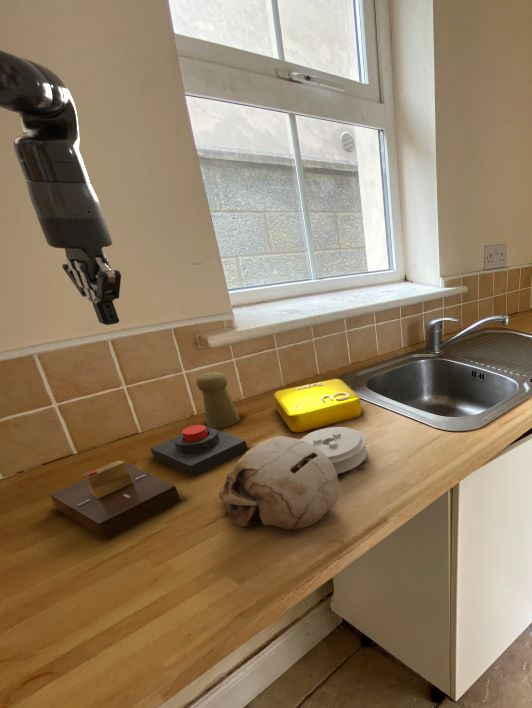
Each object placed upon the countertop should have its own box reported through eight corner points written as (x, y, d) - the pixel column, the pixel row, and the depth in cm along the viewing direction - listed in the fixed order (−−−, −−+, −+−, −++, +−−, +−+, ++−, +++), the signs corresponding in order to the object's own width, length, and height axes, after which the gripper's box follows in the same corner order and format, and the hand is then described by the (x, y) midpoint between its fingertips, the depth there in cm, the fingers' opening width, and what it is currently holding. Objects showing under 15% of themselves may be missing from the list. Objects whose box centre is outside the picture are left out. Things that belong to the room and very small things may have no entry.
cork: (199, 424, 95) (184, 377, 90) (225, 412, 100) (212, 367, 95) (221, 430, 93) (206, 382, 88) (246, 417, 98) (234, 371, 94)
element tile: (341, 393, 112) (338, 375, 110) (364, 415, 102) (362, 396, 99) (275, 408, 103) (270, 389, 101) (293, 435, 93) (288, 414, 91)
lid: (287, 457, 85) (281, 434, 83) (352, 437, 93) (349, 415, 91) (308, 489, 77) (303, 465, 75) (378, 464, 85) (376, 441, 82)
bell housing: (153, 458, 83) (146, 439, 81) (208, 434, 91) (203, 417, 90) (194, 476, 79) (187, 457, 77) (248, 449, 87) (243, 432, 85)
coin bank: (233, 488, 76) (222, 420, 70) (343, 482, 82) (341, 419, 76) (203, 558, 63) (186, 480, 57) (337, 545, 68) (334, 474, 63)
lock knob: (128, 480, 72) (118, 458, 70) (133, 483, 72) (123, 460, 70) (93, 496, 68) (82, 473, 66) (97, 499, 68) (87, 476, 66)
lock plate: (57, 509, 70) (48, 493, 68) (131, 476, 78) (125, 461, 77) (106, 539, 65) (98, 522, 63) (181, 500, 73) (175, 484, 71)
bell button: (180, 439, 83) (177, 431, 82) (200, 431, 86) (198, 423, 85) (192, 444, 81) (189, 436, 81) (212, 435, 84) (210, 427, 84)
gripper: (123, 216, 70) (157, 324, 77) (79, 211, 75) (115, 313, 82) (60, 217, 64) (103, 335, 71) (17, 211, 69) (62, 322, 76)
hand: (109, 323), depth 76 cm, fingers closed
